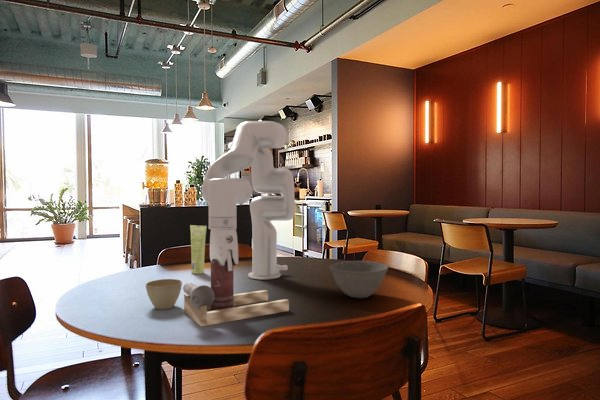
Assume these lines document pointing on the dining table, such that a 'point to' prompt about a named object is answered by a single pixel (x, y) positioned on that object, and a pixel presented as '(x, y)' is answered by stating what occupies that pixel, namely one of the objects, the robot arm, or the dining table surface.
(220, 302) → the can
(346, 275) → the bowl
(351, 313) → the dining table surface
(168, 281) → the flower pot
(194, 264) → the tube
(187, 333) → the dining table surface
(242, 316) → the bay
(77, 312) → the dining table surface
